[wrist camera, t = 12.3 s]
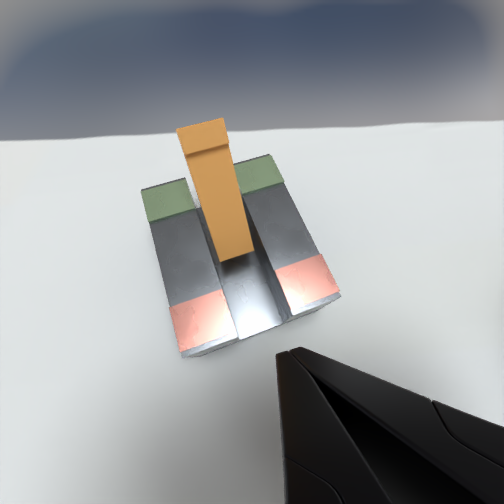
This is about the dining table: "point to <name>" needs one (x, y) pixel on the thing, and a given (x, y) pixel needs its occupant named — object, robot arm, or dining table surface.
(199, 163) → the breaker handle
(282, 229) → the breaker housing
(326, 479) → the robot arm
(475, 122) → the dining table surface
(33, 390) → the dining table surface
